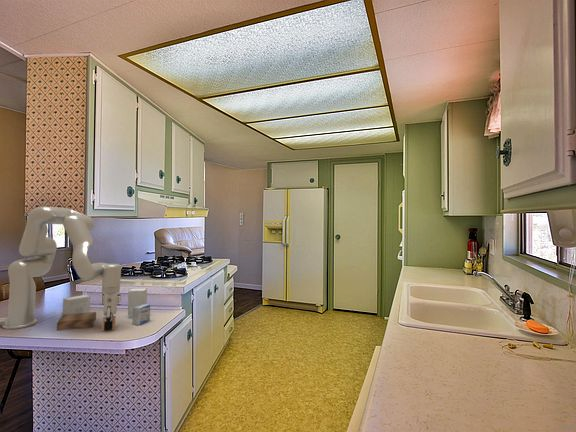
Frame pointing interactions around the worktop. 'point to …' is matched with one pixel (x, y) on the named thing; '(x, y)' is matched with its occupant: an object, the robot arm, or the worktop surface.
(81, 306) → the skincare box
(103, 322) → the terracotta cube
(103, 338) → the worktop surface
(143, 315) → the medicine box
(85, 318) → the walnut stand
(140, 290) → the skincare box
